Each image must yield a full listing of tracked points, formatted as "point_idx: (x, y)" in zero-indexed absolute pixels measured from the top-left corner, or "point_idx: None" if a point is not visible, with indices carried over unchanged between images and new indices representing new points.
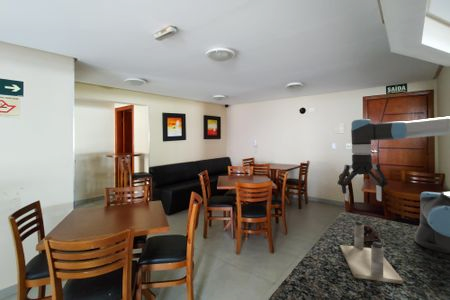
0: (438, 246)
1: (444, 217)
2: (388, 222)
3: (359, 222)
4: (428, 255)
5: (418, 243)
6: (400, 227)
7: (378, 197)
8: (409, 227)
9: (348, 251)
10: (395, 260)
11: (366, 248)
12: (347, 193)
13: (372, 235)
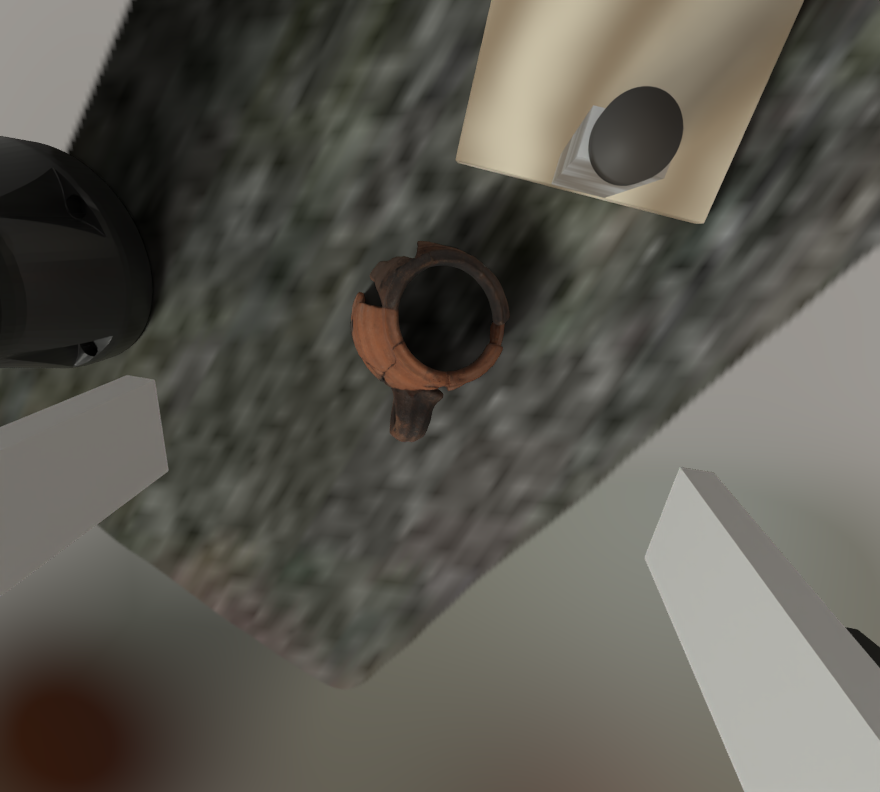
0: (60, 165)
1: None
2: (173, 551)
3: (641, 121)
4: (169, 119)
5: (148, 269)
6: None
7: (115, 438)
8: None
9: (711, 105)
10: (410, 28)
11: (531, 165)
12: (789, 590)
13: (427, 254)
